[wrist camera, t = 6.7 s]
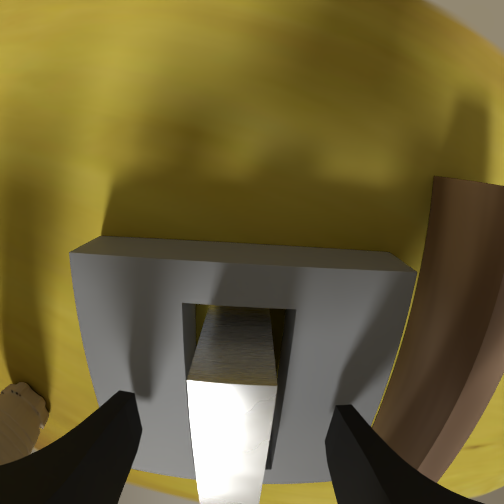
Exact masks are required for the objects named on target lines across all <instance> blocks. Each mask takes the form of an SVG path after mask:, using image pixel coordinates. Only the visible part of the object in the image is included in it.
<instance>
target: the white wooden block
mask: <svg viewBox="0 0 504 504" xmlns="http://www.w3.org/2000/svg"><path fill="white" fill-rule="evenodd" d="M187 387H188V400H189V412H190V424H191V434H192V444H193V453H194V462H195V470H196V478H197V486H198V493H199V500H200V504H259V500H260V495H261V489H262V483H263V477H264V471H265V465H266V459H267V453H268V447H269V440H270V434H271V427H272V421H273V414H274V407H275V400H276V393H277V377H276V367H275V357H274V347H273V337H272V328H271V318H270V308H255V307H237V306H221V305H209V308H208V311H207V314H206V318H205V321H204V324H203V328H202V331H201V334H200V338H199V341H198V344H197V348H196V351H195V355H194V358H193V361H192V365H191V368H190V372H189V375H188V379H187Z"/></svg>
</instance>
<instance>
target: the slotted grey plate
mask: <svg viewBox="0 0 504 504" xmlns="http://www.w3.org/2000/svg"><path fill="white" fill-rule="evenodd" d="M69 256H70V265H71V274H72V282H73V289H74V296H75V303H76V309H77V315H78V320H79V326H80V331H81V336H82V341H83V346H84V350H85V355H86V359H87V363H88V367H89V371H90V375H91V379H92V383H93V387H94V390H95V394H96V397H97V401H98V404H99V407H101V406H102V405H103V404H104V403H105V402H106V401H107V400H108V399H110V398H111V397H112V396H113V395H114V394H115V393H117V392H118V391H119V390H121V391H127V392H132V393H135V397H136V402H137V407H138V412H139V416H140V420H141V425H142V429H143V430H142V435H141V439H140V443H139V447H138V451H137V454H136V457H135V459H134V462H133V464H132V467H131V469H136V470H140V471H145V472H150V473H156V474H161V475H167V476H174V477H181V478H188V479H196V480H197V478H196V470H195V462H194V453H193V444H192V434H191V424H190V412H189V400H188V387H187V379H188V375H189V372H190V368H191V365H192V361H193V358H194V355H195V351H196V315H195V304H207V305H221V306H237V307H255V308H276V309H285V318H284V327H283V336H282V344H281V352H280V361H279V369H278V376H277V393H276V400H275V407H274V414H273V421H272V427H271V434H270V440H269V447H268V453H267V459H266V465H265V471H264V477H263V483H262V484H294V483H313V482H327V481H332V480H331V476H330V472H329V468H328V464H327V457H326V449H325V438H326V435H327V432H328V429H329V425H330V422H331V419H332V416H333V412H334V409H335V405H348V404H352V405H353V406H354V408H355V409H356V410H357V411H358V412H359V413H360V415H361V416H362V417H363V418H364V419H365V421H366V422H367V423H368V424H369V425H370V426H371V424H372V421H373V419H374V416H375V414H376V411H377V409H378V406H379V403H380V401H381V398H382V395H383V393H384V390H385V387H386V384H387V381H388V378H389V375H390V372H391V369H392V366H393V363H394V360H395V357H396V354H397V350H398V347H399V344H400V340H401V337H402V333H403V330H404V326H405V322H406V319H407V315H408V311H409V307H410V303H411V298H412V294H413V290H414V285H415V281H416V276H417V272H416V271H415V270H413V269H412V268H411V267H409V266H408V265H407V264H405V263H404V262H402V261H401V260H400V259H398V258H397V257H395V256H394V255H392V254H391V253H390V252H379V251H364V250H348V249H332V248H316V247H299V246H282V245H265V244H247V243H229V242H211V241H192V240H173V239H154V238H134V237H113V236H99V237H97V238H95V239H93V240H91V241H90V242H88V243H86V244H84V245H82V246H80V247H78V248H76V249H75V250H73V251H71V252H69Z"/></svg>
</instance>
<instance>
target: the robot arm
mask: <svg viewBox="0 0 504 504" xmlns="http://www.w3.org/2000/svg"><path fill="white" fill-rule="evenodd" d="M142 430H143V429H142V425H141V420H140V416H139V412H138V407H137V402H136V397H135V393H132V392H127V391H121V390H119V391H118V392H117V393H115V394H114V395H113V396H112V397H111V398H110V399H108V400H107V401H106V402H105V403H104V404H103V405H102V406H101V407H99V408H98V409H97V410H96V411H95V412H94V413H92V414H91V415H90V416H89V417H88V418H86V419H85V420H84V421H83V422H81V423H80V424H79V425H78V426H76V427H75V428H74V429H72V430H71V431H69V432H68V433H67V434H65V435H64V436H62V437H61V438H59V439H58V440H56V441H55V442H53V443H51V444H50V445H48V446H46V447H44V448H42V449H41V450H39V451H36V452H34V453H32V454H30V455H28V456H25V457H23V458H21V459H18V460H15V461H13V462H10V463H6V464H3V465H0V504H118V501H119V498H120V495H121V492H122V490H123V487H124V485H125V482H126V480H127V477H128V474H129V472H130V469H131V467H132V464H133V462H134V459H135V457H136V454H137V451H138V447H139V443H140V439H141V435H142ZM325 449H326V457H327V464H328V468H329V472H330V476H331V480H332V484H333V488H334V492H335V495H336V499H337V503H338V504H484V503H481V502H478V501H474V500H471V499H469V498H466V497H464V496H461V495H459V494H457V493H454V492H452V491H450V490H448V489H446V488H444V487H443V486H441V485H439V484H437V483H436V482H434V481H432V480H431V479H429V478H427V477H426V476H424V475H423V474H422V473H420V472H419V471H417V470H416V469H415V468H413V467H412V466H411V465H409V464H408V463H407V462H406V461H405V460H403V459H402V458H401V457H400V456H399V455H398V454H397V453H396V452H395V451H394V450H393V449H392V448H390V447H389V446H388V445H387V443H386V442H385V441H384V440H383V439H382V438H381V437H380V436H379V435H378V434H377V433H376V432H375V431H374V430H373V429H372V427H371V426H370V425H369V424H368V423H367V422H366V421H365V419H364V418H363V417H362V416H361V415H360V413H359V412H358V411H357V410H356V409H355V408H354V406H353V405H352V404H348V405H335V409H334V412H333V416H332V419H331V422H330V425H329V429H328V432H327V435H326V438H325Z"/></svg>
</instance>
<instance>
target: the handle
mask: <svg viewBox="0 0 504 504" xmlns="http://www.w3.org/2000/svg"><path fill="white" fill-rule="evenodd" d="M45 404H46V402H45V400H44V399H43V397H41V396H39V395H38V394H37V393H35V392H34V391H33V390H32V389H31V388H30V387H29V385H28V384H26V383H24V382H19V383H18V384H16V385H15V384H10V385H9V386H7V387H6V388H5V389H4V390H2V391H1V394H0V465H3V464H6V463H10V462H13V461H15V460H18V459H21V458H23V457H25V456H28V455H30V454H31V452H32V450H33V448H34V446H35V444H36V441H37V439H38V436H39V433H40V429H39V428H42V429H43V428H44V426H45V424H46V422H47V420H48V417H49V412H48V411H47V409H46V407H45Z"/></svg>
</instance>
